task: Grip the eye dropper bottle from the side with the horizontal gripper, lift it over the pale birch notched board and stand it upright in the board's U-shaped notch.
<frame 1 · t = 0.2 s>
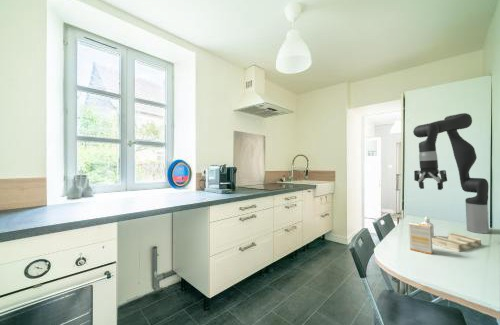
hand: (430, 189, 111), 29 cm above the table, tool pointing down, fingers open, 8 cm apart
supplement box: (421, 251, 99), on the table
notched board: (456, 244, 106), on the table
eye dropper bottle: (427, 236, 118), on the table
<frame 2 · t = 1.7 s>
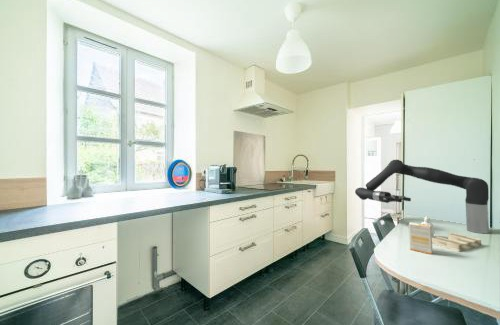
hand: (406, 200, 129), 20 cm above the table, tool horizontal, fingers open, 8 cm apart
nothing on the table moved.
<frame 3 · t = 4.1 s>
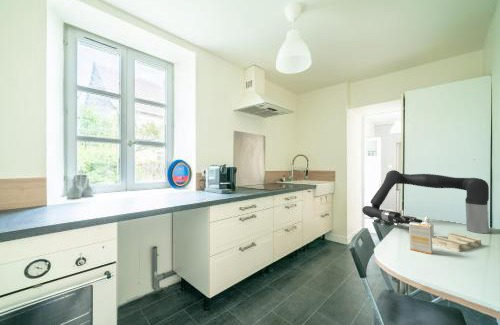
hand: (417, 222, 123), 7 cm above the table, tool horizontal, fingers open, 8 cm apart
nothing on the table moved.
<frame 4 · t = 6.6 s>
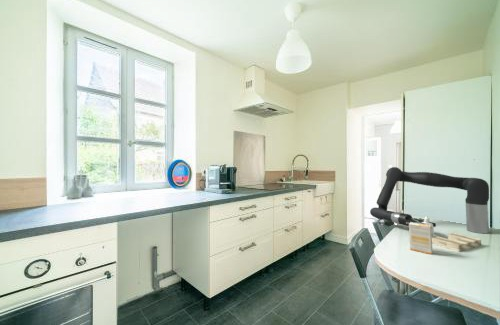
hand: (432, 225, 116), 7 cm above the table, tool horizontal, fingers closed on eye dropper bottle, 5 cm apart
eye dropper bottle: (427, 236, 118), on the table, touching gripper
everything else where it was.
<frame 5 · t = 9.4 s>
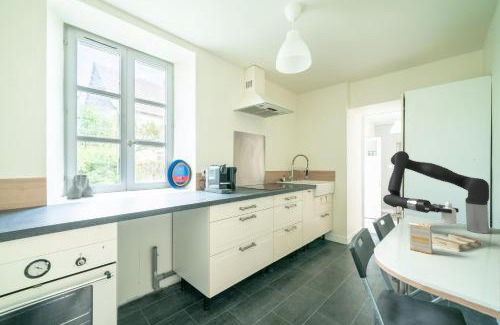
hand: (454, 211, 106), 18 cm above the table, tool horizontal, fingers closed on eye dropper bottle, 5 cm apart
eye dropper bottle: (449, 223, 109), point 10 cm above the table, touching gripper
everything else where it was.
when the fingers open (8 cm above the table, at t = 12.4 s): eye dropper bottle drops 1 cm, on the table.
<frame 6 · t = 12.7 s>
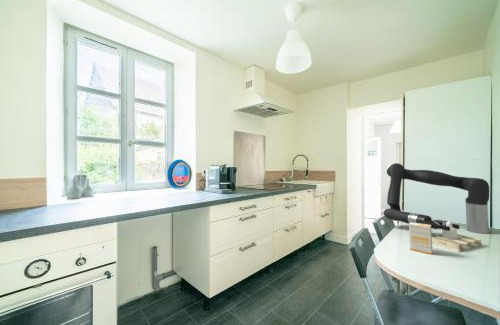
hand: (454, 228, 106), 9 cm above the table, tool horizontal, fingers open, 7 cm apart
eye dropper bottle: (449, 242, 108), on the table
everything else where it was.
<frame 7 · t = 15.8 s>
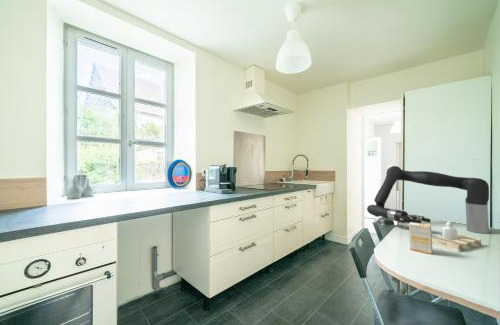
hand: (425, 221, 119), 9 cm above the table, tool horizontal, fingers open, 8 cm apart
nothing on the table moved.
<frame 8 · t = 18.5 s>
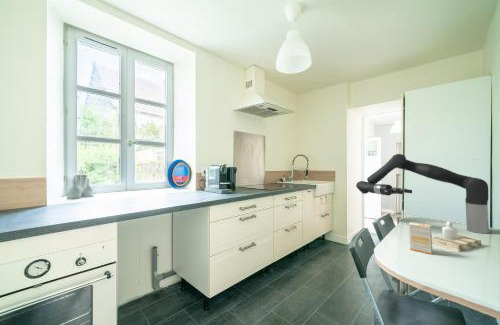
hand: (407, 192, 128), 25 cm above the table, tool horizontal, fingers open, 8 cm apart
nothing on the table moved.
at the end: eye dropper bottle 0.2 cm from the target spot on the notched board, point 0.0 cm above the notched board's base; eye dropper bottle tilted 0°; the gripper is holding nothing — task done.
